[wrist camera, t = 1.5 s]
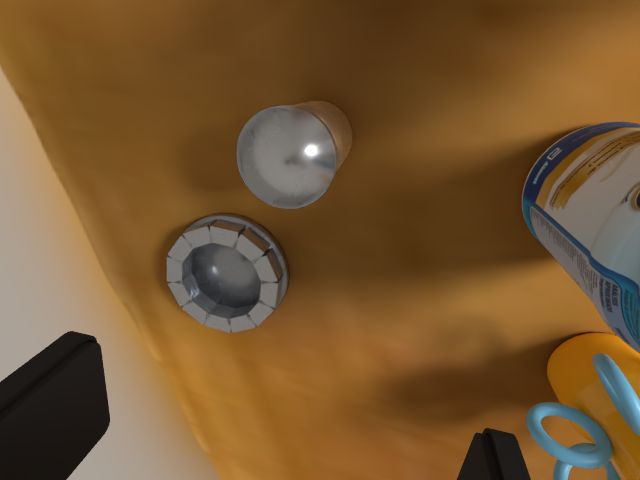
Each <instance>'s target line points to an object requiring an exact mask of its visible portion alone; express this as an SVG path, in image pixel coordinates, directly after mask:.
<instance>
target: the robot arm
mask: <svg viewBox="0 0 640 480" xmlns="http://www.w3.org/2000/svg"><path fill="white" fill-rule="evenodd" d="M109 423H110V414H109V407H108V399H107V391H106V384H105V376H104V368H103V360H102V353H101V347H100V345H99V344H98V343H97V340H96V338H95V337H94V336H90V335H86V334H82V333H78V332H74V331H70V332H67V333H65V334H64V335H62V336H61V337H60V338H58V339H57V340H56V341H54V342H53V343H52V344H50V345H49V346H48V347H46V348H45V349H44V350H42V351H41V352H40V353H38V354H37V355H36V356H34V357H33V358H32V359H30V360H29V361H28V362H26V363H25V364H24V365H22V366H21V367H20V368H18V369H17V370H16V371H14V372H13V373H12V374H10V375H9V376H8V377H6V378H5V379H4V380H3V381H1V382H0V480H66V479H67V478H68V477H69V476H70V475H71V473H72V472H73V471H74V470H75V469H76V467H77V466H78V465H79V464H80V463H81V461H82V460H83V459H84V458H85V457H86V455H87V454H88V453H89V452H90V451H91V449H92V448H93V447H94V446H95V445H96V444H97V442H98V441H99V440H100V439H101V438H102V436H103V435H104V434H105V432H106V431H107V429H108V426H109ZM457 480H531V479H530V476H529V473H528V470H527V467H526V464H525V461H524V458H523V456H522V453H521V450H520V447H519V444H518V441H517V439H516V437H515V436H514V434H511V433H506V432H502V431H498V430H494V429H489V428H486V429H484V431H483V433H482V434H481V433H475V435H474V437H473V440H472V442H471V445H470V447H469V450H468V453H467V455H466V458H465V460H464V463H463V465H462V468H461V470H460V473H459V476H458V478H457Z"/></svg>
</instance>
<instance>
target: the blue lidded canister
mask: <svg viewBox="0 0 640 480" xmlns="http://www.w3.org/2000/svg"><path fill="white" fill-rule="evenodd" d="M522 211H523V216H524V219H525V222H526V224H527V226H528V228H529V230H530V232H531V233H532V234H533V236H534V237H535V238H536V239H537V240H538V241H539V242H540V243H541V244H542V245H543V246H544V247H545V248H546V249H547V250H548V251H549V252H550V253H551V254H552V256H553V257H554V258H555V259H556V260H557V261H558V262H559V264H560V265H561V266H562V267H563V268H564V269H565V270H566V272H567V273H568V274H569V275H570V276H571V277H572V279H573V280H574V281H575V282H576V283H577V284H578V285H579V287H580V288H581V289H582V290H583V291H584V292H585V294H586V295H587V296H588V297H589V298H590V299H591V300H592V302H593V303H594V305H595V307H596V309H597V310H598V312H599V314H600V315H601V317H602V318H603V320H604V321H605V322H606V324H607V325H608V326H609V327H610V328H611V329H612V330H613V331H614V332H615V334H616V335H617V336H619V337H620V338H621V339H622V340H623V341H624V342H625V343H626V344H628V345H629V346H630V347H631V348H633V349H634V350H635V351H637V352H638V353H640V124H636V123H629V122H604V123H598V124H594V125H590V126H586V127H583V128H581V129H578V130H576V131H574V132H572V133H570V134H568V135H566V136H564V137H563V138H561V139H559V140H558V141H557V142H555V143H554V144H553V145H551V146H550V147H549V148H548V149H547V150H546V151H545V152H544V153H543V154H542V155H541V156H540V157H539V158H538V160H537V161H536V162H535V164H534V165H533V167H532V168H531V170H530V172H529V174H528V176H527V179H526V181H525V184H524V188H523V193H522Z"/></svg>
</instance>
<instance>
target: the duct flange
mask: <svg viewBox="0 0 640 480" xmlns="http://www.w3.org/2000/svg"><path fill="white" fill-rule="evenodd" d="M168 255H169V256H168V257H167V281H169V283H168V286H169V287H170V289H171V291H172V293H173V295H174V297H175V298H176V300H177V302H178V304H179V306H183V305H184V307H183V308H182V309H183V310H184V311H185V312H187V313H188V314H189V315H191V316H192V317H193V318H194V319H196V320H197V321H198V322H200V323H201V324H202V325H203V324H204V323H205V321H206V325H205V326H206V327H210V328H214V329H218V330H222V331H226V332H231V330H232V332H233V333H234V332H238V331H243V330H247V329H252V328H256V327H257V326H259V325H260V324H261V323H262V322H263V321H264V320H265V319H266V318H267V317H268V316H269V315H270V314H271V313H272V312H273V311H274V310H275V309H276V308H277V307H278V306H279V304H280V302H281V301H282V299H283V297H284V295H285V293H286V291H287V288H288V284H289V266H288V261H287V258H286V255H285V253H284V251H283V249H282V247H281V245H280V244H279V242H278V241H277V240H276V238H275V237H274V236H273V235H272V234H271V233H270V232H269V231H268V230H267V229H266V228H264V227H263V226H262V225H260V224H259V223H257V222H255V221H254V220H252V219H249V218H247V217H244V216H241V215H237V214H231V213H218V214H212V215H209V216H206V217H204V218H201V219H200V220H198V221H197V222H195V223H194V224H192V225H191V226H190V227H188V228H187V229H186V230H185V231H184V232H183V234H182V235H181V236H180V237H179V239H178V240H177V242H176V243H175V245H174V246H173V247H172V249H171V250H170V252H169V253H168Z"/></svg>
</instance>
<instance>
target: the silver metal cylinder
mask: <svg viewBox="0 0 640 480" xmlns="http://www.w3.org/2000/svg"><path fill="white" fill-rule="evenodd" d="M352 140H353V135H352V128H351V125H350V122H349V120H348V118H347V117H346V115H345V114H344V113H343V112H342V111H341V110H340V109H339V108H338V107H337V106H335V105H333V104H331V103H329V102H325V101H310V102H305V103H300V104H295V105H279V106H273V107H270V108H266V109H264V110H262V111H260V112H258V113H257V114H255V115H254V116H253V117H252V118H251V119H250V120H249V121H248V122H247V123H246V125H245V126H244V128H243V129H242V131H241V133H240V136H239V139H238V143H237V149H236V158H237V165H238V169H239V172H240V175H241V177H242V179H243V181H244V183H245V184H246V186H247V187H248V188H249V190H250V191H251V192H252V193H253V194H254V195H255V196H256V197H258V198H259V199H260V200H262V201H263V202H265V203H267V204H269V205H271V206H274V207H278V208H283V209H296V208H301V207H304V206H307V205H309V204H311V203H313V202H315V201H316V200H317V199H319V198H320V197H321V196H322V195H323V194H324V193H325V191H326V190H327V189H328V187H329V186H330V184H331V182H332V181H333V178H334V176H335V173H336V172H337V170H338V169H339V167H340V166H341V165H342V163H343V162H344V160H345V159H346V157H347V156H348V154H349V152H350V149H351V146H352Z"/></svg>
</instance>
